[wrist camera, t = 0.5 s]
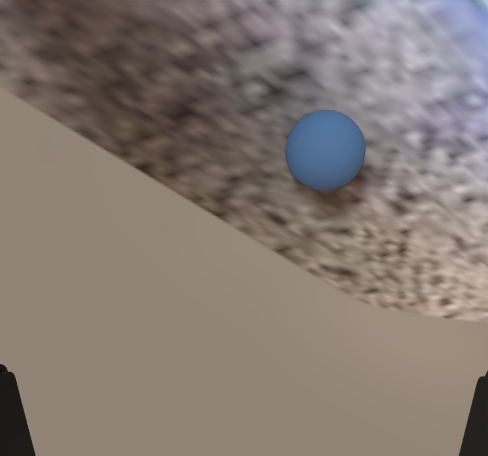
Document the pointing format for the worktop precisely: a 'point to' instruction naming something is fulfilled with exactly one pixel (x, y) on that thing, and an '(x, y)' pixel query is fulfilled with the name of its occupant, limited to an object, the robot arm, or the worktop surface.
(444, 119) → the worktop surface
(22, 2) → the worktop surface
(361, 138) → the ball
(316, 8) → the worktop surface
